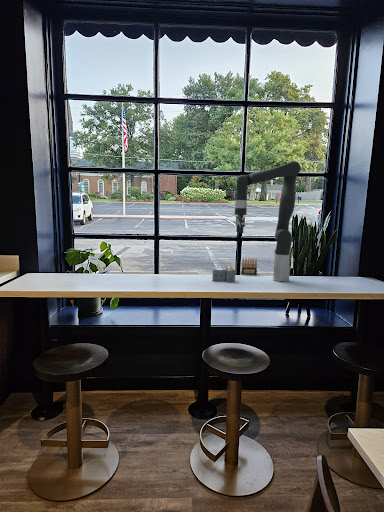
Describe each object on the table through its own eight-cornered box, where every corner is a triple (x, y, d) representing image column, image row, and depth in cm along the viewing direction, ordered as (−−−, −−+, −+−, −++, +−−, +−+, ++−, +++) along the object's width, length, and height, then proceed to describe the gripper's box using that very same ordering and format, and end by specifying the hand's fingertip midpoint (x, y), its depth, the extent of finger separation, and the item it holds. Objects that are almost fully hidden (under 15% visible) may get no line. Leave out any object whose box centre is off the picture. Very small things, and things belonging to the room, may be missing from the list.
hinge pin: (231, 280, 223) (231, 266, 222) (232, 281, 220) (232, 267, 219) (226, 280, 223) (227, 266, 221) (227, 281, 220) (228, 267, 218)
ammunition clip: (256, 274, 243) (257, 257, 241) (256, 275, 241) (257, 258, 239) (241, 274, 243) (241, 257, 241) (241, 274, 241) (242, 257, 239)
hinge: (230, 277, 232) (231, 266, 231) (236, 281, 218) (236, 270, 217) (209, 277, 231) (210, 266, 230) (213, 281, 217) (213, 270, 216)
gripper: (249, 207, 215) (248, 233, 218) (243, 207, 229) (242, 231, 232) (237, 207, 214) (236, 233, 217) (232, 207, 228) (231, 231, 231)
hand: (239, 232), depth 224 cm, fingers open, 8 cm apart
